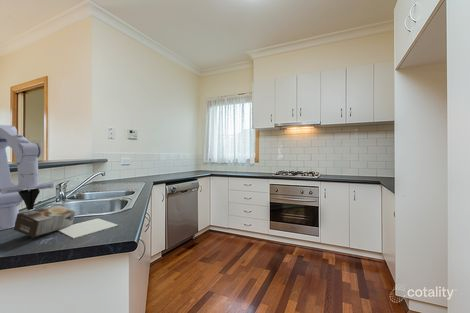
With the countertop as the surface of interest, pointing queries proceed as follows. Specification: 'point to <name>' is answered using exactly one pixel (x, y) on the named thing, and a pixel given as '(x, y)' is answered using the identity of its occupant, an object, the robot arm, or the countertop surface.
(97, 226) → the mat
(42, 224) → the coffee box
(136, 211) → the countertop surface
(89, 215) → the countertop surface
